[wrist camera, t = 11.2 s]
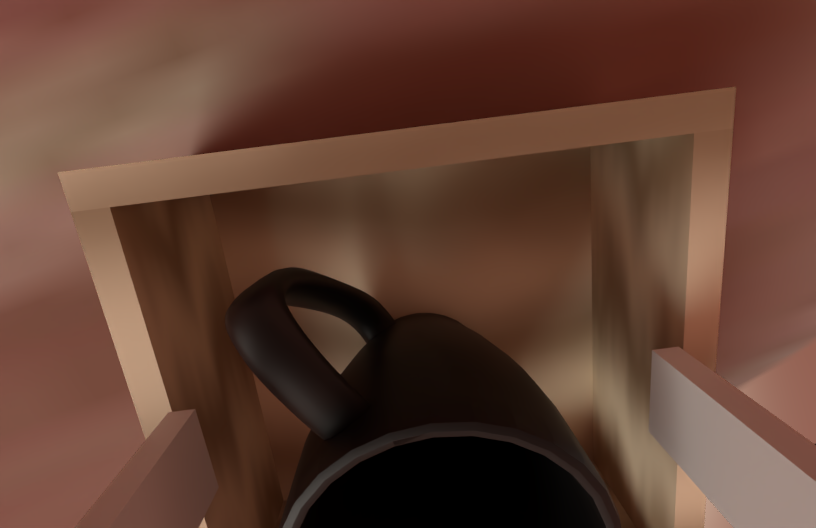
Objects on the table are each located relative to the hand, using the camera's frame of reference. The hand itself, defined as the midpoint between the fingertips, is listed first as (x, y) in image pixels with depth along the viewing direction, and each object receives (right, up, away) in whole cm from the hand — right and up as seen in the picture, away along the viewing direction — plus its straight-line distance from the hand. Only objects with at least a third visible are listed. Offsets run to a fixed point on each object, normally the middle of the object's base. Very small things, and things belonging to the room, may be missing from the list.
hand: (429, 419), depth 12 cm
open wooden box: (0, +1, +7) cm, 7 cm away
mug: (-1, +1, +6) cm, 7 cm away
